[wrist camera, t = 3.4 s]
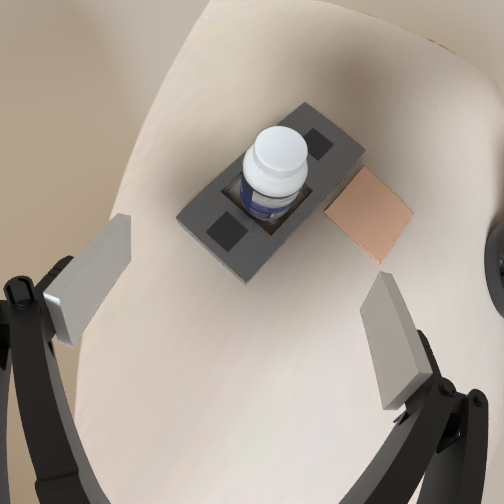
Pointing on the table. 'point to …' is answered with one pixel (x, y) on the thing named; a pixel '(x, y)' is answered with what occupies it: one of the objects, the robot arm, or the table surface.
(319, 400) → the table surface
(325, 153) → the holder
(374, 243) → the coaster
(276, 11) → the table surface
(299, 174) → the pill bottle
